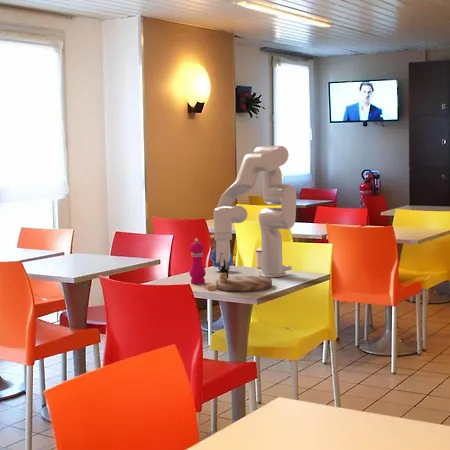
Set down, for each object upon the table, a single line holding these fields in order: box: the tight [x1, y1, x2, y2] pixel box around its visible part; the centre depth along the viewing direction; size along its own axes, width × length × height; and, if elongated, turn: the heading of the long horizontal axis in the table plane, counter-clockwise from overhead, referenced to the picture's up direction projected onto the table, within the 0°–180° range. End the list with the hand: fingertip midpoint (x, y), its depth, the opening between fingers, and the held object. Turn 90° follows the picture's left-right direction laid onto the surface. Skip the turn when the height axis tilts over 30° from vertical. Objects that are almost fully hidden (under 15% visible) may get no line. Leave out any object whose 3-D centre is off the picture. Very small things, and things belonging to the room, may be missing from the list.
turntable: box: [215, 272, 273, 292], centre depth 341 cm, size 24×24×6 cm
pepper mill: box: [189, 237, 207, 285], centre depth 355 cm, size 7×7×20 cm
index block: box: [205, 284, 215, 291], centre depth 337 cm, size 3×2×2 cm, turn 106°
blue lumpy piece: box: [209, 248, 234, 271], centre depth 387 cm, size 12×7×12 cm, turn 75°
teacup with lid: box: [255, 246, 262, 270], centre depth 396 cm, size 12×9×12 cm
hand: (224, 278), depth 343 cm, fingers closed
